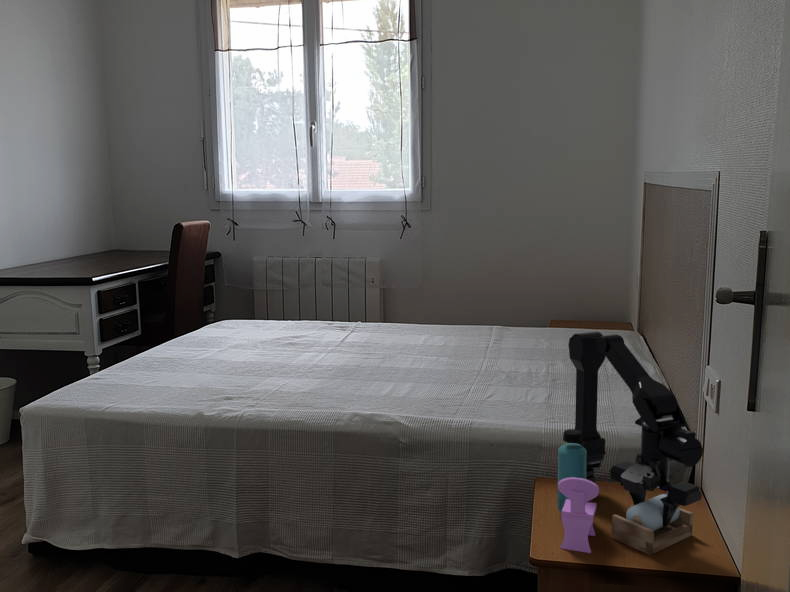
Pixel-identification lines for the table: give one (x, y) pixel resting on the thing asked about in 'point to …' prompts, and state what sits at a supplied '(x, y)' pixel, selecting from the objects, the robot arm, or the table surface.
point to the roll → (650, 513)
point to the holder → (652, 533)
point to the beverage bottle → (571, 460)
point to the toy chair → (578, 512)
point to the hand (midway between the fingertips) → (652, 520)
